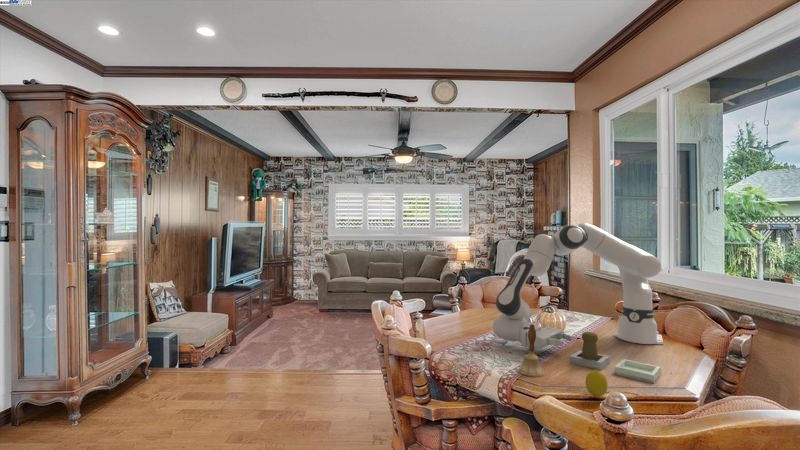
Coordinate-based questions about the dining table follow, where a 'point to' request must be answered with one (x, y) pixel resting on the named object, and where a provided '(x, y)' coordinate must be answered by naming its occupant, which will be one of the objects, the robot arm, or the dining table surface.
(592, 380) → the lemon
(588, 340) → the cork
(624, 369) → the sage tray
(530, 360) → the hand bell
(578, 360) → the grey square frame
